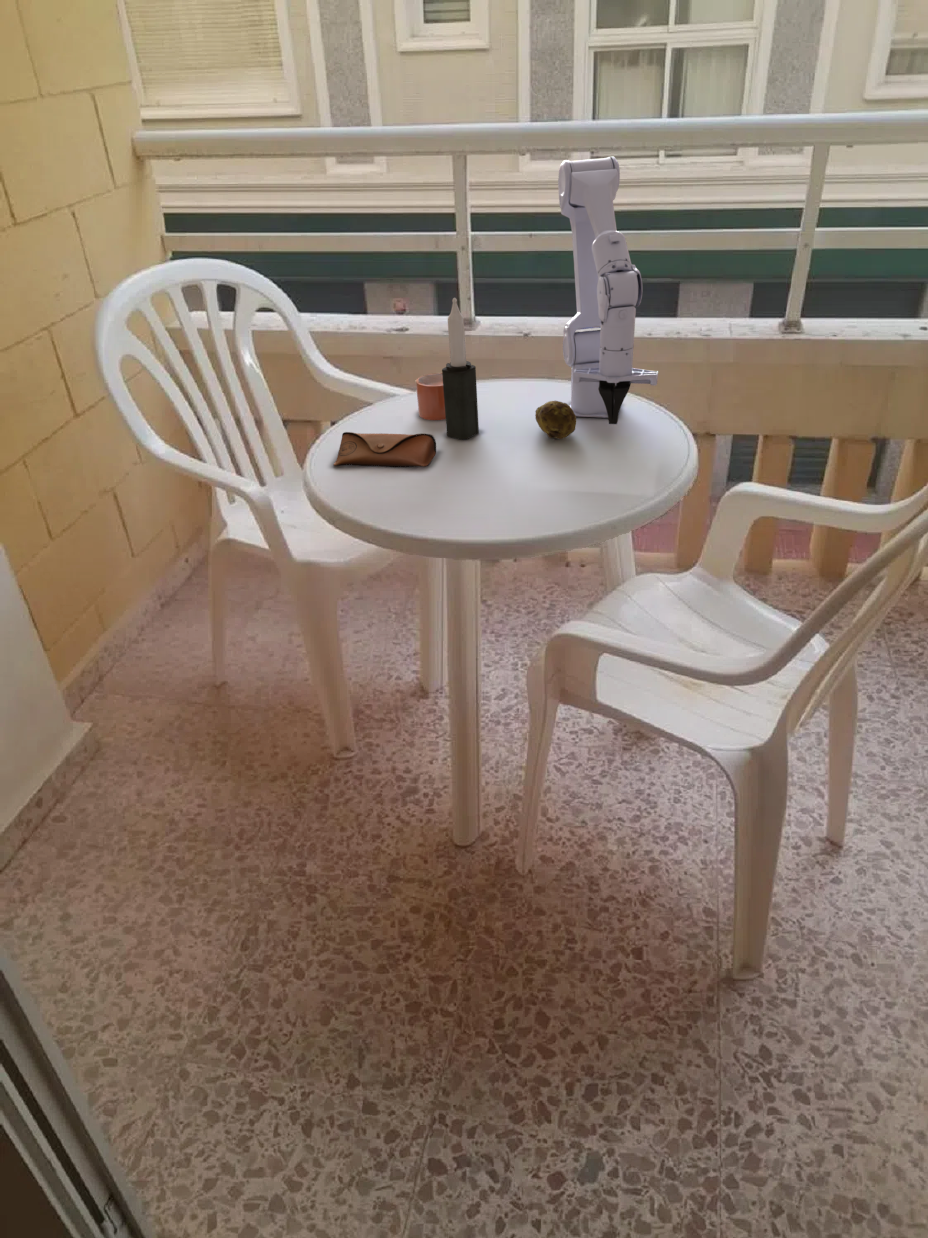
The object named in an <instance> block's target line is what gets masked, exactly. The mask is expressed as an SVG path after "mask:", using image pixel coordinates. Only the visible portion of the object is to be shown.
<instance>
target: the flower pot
mask: <svg viewBox="0 0 928 1238" xmlns="http://www.w3.org/2000/svg"><path fill="white" fill-rule="evenodd" d="M415 386H416V387H415V388H416V398H417V399H416V400H417V409H418V410H417V411H418V417H420V418H421V419H423V420H426V421H427V420H428V421H444V420H446V417H445V404H444V390H443V377H442V372H434V373H433V372H431V373H427V374H424V375H420V376H419V377H417V378H416V380H415Z"/></svg>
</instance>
